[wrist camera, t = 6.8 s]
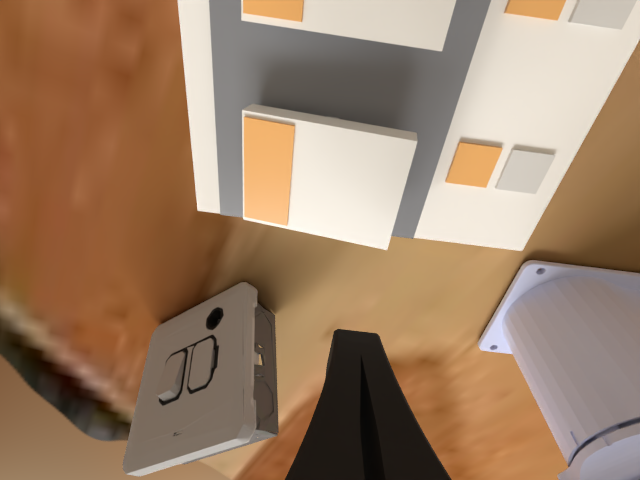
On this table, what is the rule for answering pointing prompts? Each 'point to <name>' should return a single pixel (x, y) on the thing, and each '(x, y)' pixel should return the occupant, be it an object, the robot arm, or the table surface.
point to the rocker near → (360, 19)
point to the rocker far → (324, 174)
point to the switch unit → (420, 103)
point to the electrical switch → (206, 384)
